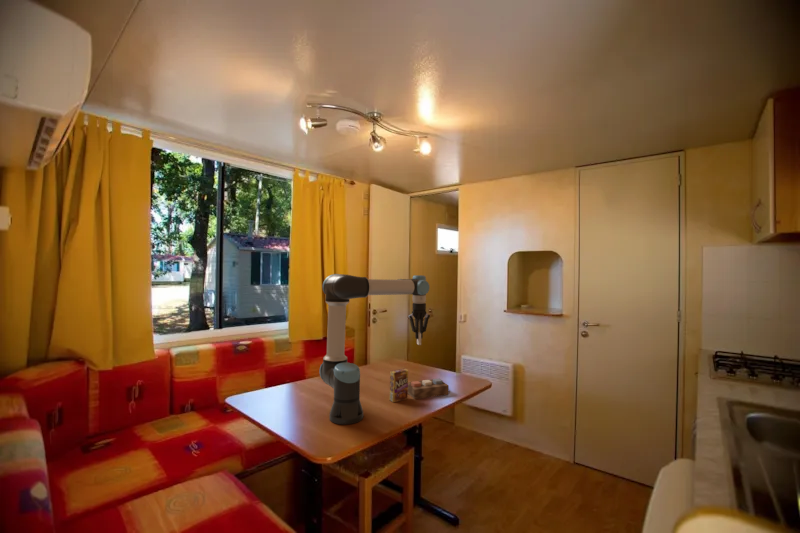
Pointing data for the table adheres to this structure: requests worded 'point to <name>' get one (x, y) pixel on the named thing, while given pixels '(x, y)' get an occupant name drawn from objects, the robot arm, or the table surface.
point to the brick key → (416, 384)
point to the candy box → (398, 385)
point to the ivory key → (426, 382)
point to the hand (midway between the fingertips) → (418, 344)
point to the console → (428, 390)
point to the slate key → (437, 381)
